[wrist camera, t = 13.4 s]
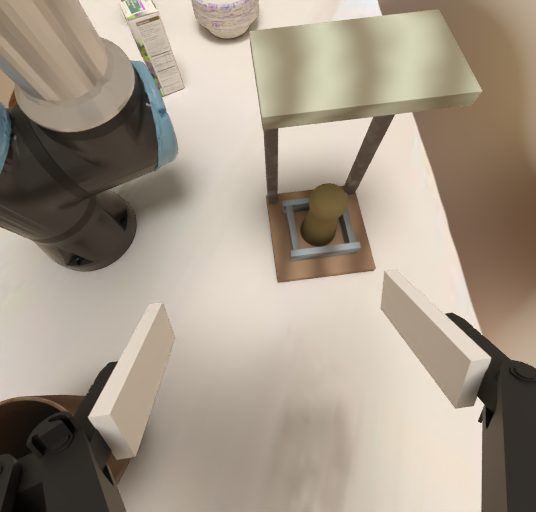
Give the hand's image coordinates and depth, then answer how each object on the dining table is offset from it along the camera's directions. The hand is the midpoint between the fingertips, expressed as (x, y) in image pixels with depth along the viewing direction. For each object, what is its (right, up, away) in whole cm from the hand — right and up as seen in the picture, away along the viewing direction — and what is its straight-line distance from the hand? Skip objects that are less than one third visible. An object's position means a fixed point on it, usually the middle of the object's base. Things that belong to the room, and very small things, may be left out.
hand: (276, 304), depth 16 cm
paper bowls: (-10, +60, +50) cm, 78 cm away
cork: (+8, +7, +30) cm, 31 cm away
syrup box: (-23, +41, +44) cm, 64 cm away
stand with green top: (+8, +7, +30) cm, 32 cm away
